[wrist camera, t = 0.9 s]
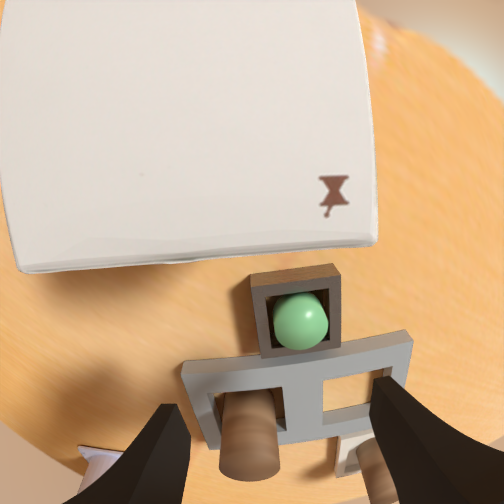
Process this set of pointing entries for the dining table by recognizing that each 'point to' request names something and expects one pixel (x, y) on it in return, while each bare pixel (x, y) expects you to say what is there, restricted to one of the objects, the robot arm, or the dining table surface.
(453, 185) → the dining table surface
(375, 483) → the cylinder
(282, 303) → the button
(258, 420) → the cylinder
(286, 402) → the grey frame
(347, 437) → the white square tray
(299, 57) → the supplement box
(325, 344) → the switch box
